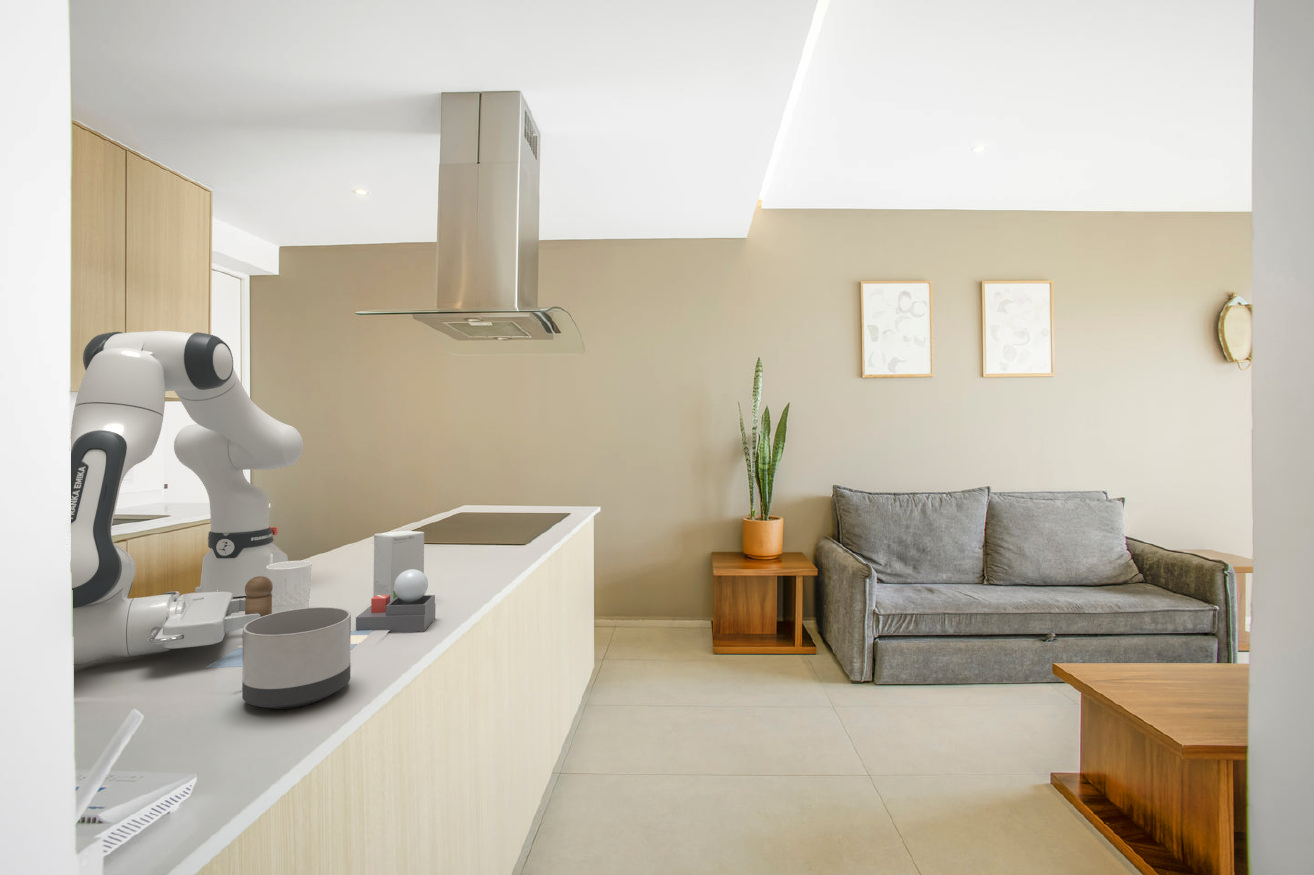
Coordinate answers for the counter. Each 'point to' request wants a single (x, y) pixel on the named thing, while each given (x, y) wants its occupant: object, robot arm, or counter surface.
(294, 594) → the white cup
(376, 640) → the counter surface
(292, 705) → the planter
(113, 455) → the robot arm
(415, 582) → the ball
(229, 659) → the board
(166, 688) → the counter surface
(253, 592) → the brown pepper mill
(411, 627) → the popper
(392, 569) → the skincare box
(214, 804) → the counter surface
